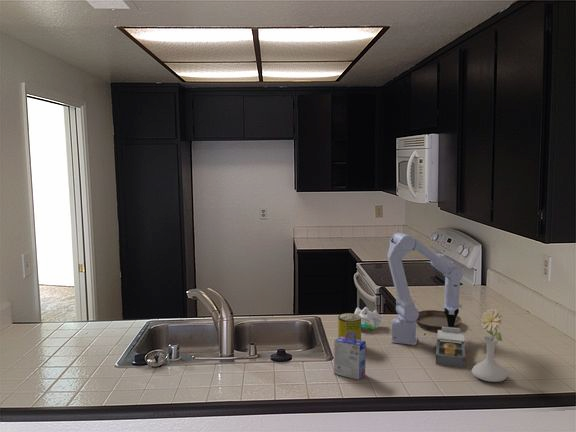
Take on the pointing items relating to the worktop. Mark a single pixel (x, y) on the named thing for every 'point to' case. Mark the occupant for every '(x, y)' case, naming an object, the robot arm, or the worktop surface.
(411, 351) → the worktop surface
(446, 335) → the lid
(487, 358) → the flower in vase
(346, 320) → the yellow tin can
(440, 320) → the plant saucer
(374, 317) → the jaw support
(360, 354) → the ink cartridge box
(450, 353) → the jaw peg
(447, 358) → the housing
